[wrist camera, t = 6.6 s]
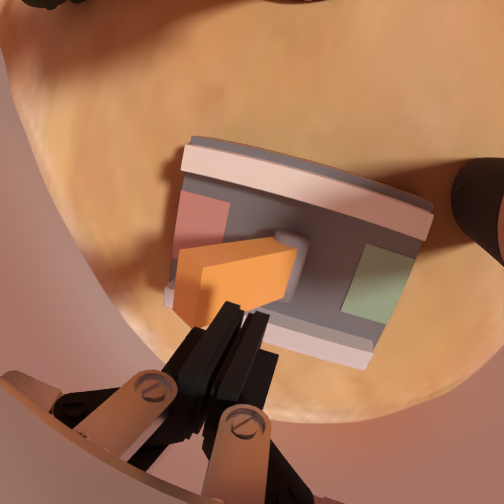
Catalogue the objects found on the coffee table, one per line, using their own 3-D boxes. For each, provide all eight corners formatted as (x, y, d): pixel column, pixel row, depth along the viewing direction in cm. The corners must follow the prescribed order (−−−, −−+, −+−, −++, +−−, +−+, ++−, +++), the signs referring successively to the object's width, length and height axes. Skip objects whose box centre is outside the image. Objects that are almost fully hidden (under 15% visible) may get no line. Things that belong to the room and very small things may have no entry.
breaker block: (209, 137, 24) (180, 134, 19) (421, 197, 21) (443, 209, 16) (184, 284, 29) (157, 309, 24) (363, 340, 26) (366, 377, 22)
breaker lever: (290, 227, 21) (178, 240, 15) (317, 241, 20) (207, 261, 13) (275, 282, 23) (169, 313, 16) (299, 297, 22) (194, 338, 15)
